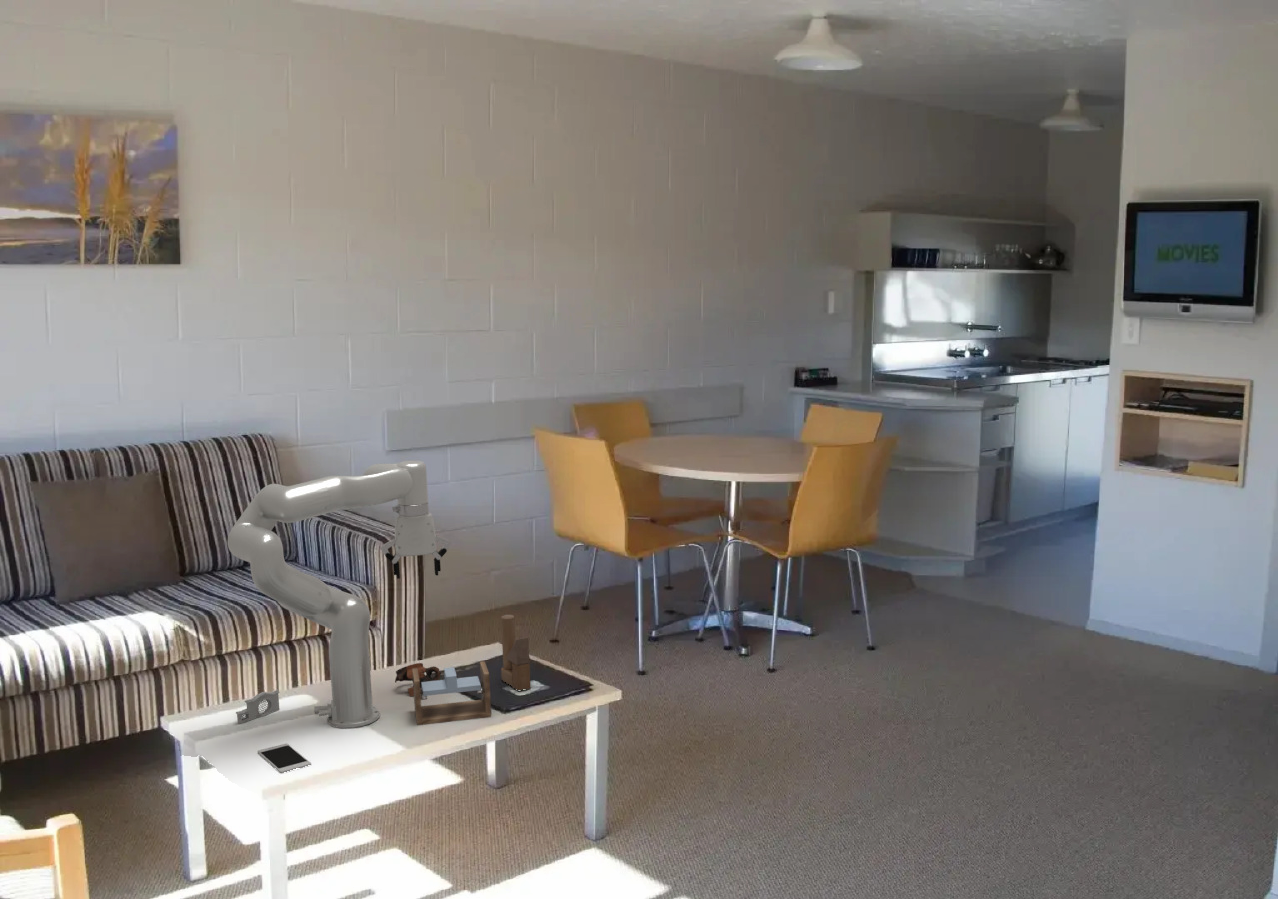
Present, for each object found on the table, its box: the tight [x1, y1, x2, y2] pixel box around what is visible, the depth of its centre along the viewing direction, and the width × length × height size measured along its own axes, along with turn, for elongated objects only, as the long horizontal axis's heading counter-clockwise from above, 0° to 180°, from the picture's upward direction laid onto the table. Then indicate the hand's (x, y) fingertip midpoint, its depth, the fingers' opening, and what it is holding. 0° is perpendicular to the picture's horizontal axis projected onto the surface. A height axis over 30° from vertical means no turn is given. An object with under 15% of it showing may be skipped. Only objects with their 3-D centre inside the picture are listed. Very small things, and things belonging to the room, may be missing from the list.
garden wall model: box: [235, 689, 280, 724], centre depth 305 cm, size 12×2×6 cm, turn 142°
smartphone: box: [257, 743, 312, 774], centre depth 278 cm, size 7×15×1 cm, turn 36°
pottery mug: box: [394, 662, 442, 697], centre depth 321 cm, size 12×10×8 cm
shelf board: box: [421, 666, 481, 697], centre depth 301 cm, size 14×7×4 cm, turn 104°
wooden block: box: [500, 614, 531, 691], centre depth 321 cm, size 4×11×18 cm, turn 31°
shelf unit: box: [412, 660, 492, 726], centre depth 302 cm, size 18×10×11 cm, turn 103°
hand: (417, 575), depth 310 cm, fingers open, 9 cm apart
